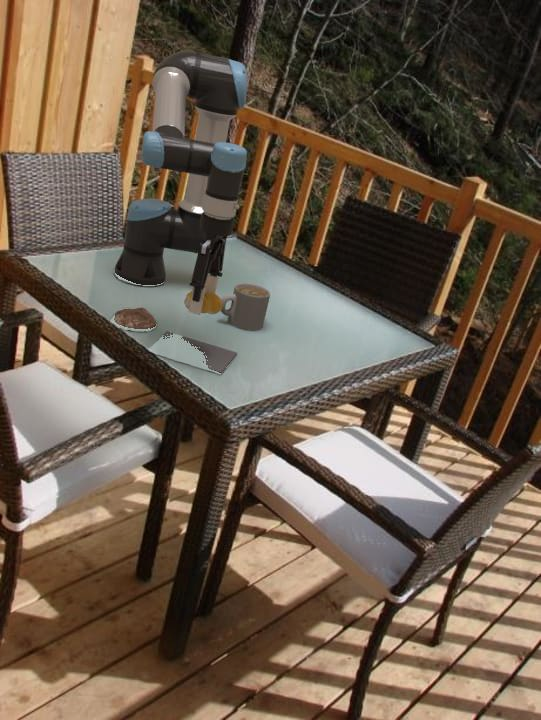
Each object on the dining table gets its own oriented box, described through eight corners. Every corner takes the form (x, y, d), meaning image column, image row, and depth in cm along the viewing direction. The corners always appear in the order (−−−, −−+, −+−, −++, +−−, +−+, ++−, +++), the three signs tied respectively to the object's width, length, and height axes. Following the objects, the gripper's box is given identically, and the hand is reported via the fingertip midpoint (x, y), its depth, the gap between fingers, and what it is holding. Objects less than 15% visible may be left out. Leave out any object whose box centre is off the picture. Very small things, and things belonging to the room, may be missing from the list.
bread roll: (225, 316, 169) (228, 300, 167) (189, 314, 165) (191, 298, 164) (215, 302, 176) (218, 286, 174) (180, 299, 172) (182, 284, 170)
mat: (146, 352, 171) (146, 349, 171) (166, 333, 183) (167, 331, 182) (221, 375, 168) (221, 372, 168) (236, 355, 180) (237, 352, 180)
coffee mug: (259, 317, 206) (266, 285, 202) (266, 332, 197) (273, 299, 193) (213, 312, 202) (219, 279, 198) (218, 327, 193) (225, 293, 189)
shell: (164, 321, 190) (166, 309, 189) (146, 338, 179) (148, 325, 177) (123, 310, 191) (125, 297, 190) (103, 325, 180) (104, 312, 178)
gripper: (219, 228, 151) (201, 326, 160) (247, 210, 170) (229, 298, 179) (186, 219, 152) (170, 316, 161) (217, 202, 171) (201, 289, 180)
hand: (201, 306), depth 170 cm, fingers closed on bread roll, 9 cm apart
